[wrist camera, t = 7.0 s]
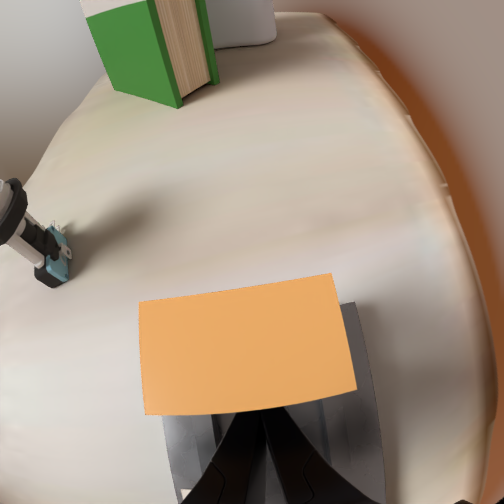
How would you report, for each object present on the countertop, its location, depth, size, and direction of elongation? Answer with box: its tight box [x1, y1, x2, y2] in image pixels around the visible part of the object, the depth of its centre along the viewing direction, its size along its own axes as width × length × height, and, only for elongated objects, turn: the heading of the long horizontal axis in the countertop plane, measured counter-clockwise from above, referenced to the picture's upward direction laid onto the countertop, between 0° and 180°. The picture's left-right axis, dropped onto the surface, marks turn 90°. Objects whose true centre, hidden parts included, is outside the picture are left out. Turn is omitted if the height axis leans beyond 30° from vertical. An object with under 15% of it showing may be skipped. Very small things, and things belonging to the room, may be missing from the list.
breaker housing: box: [162, 302, 386, 504], centre depth 12 cm, size 17×12×3 cm
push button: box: [0, 178, 72, 288], centre depth 16 cm, size 7×5×10 cm
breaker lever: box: [139, 273, 357, 415], centre depth 10 cm, size 3×5×10 cm, turn 98°
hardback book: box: [79, 0, 220, 109], centre depth 23 cm, size 18×7×24 cm, turn 51°
